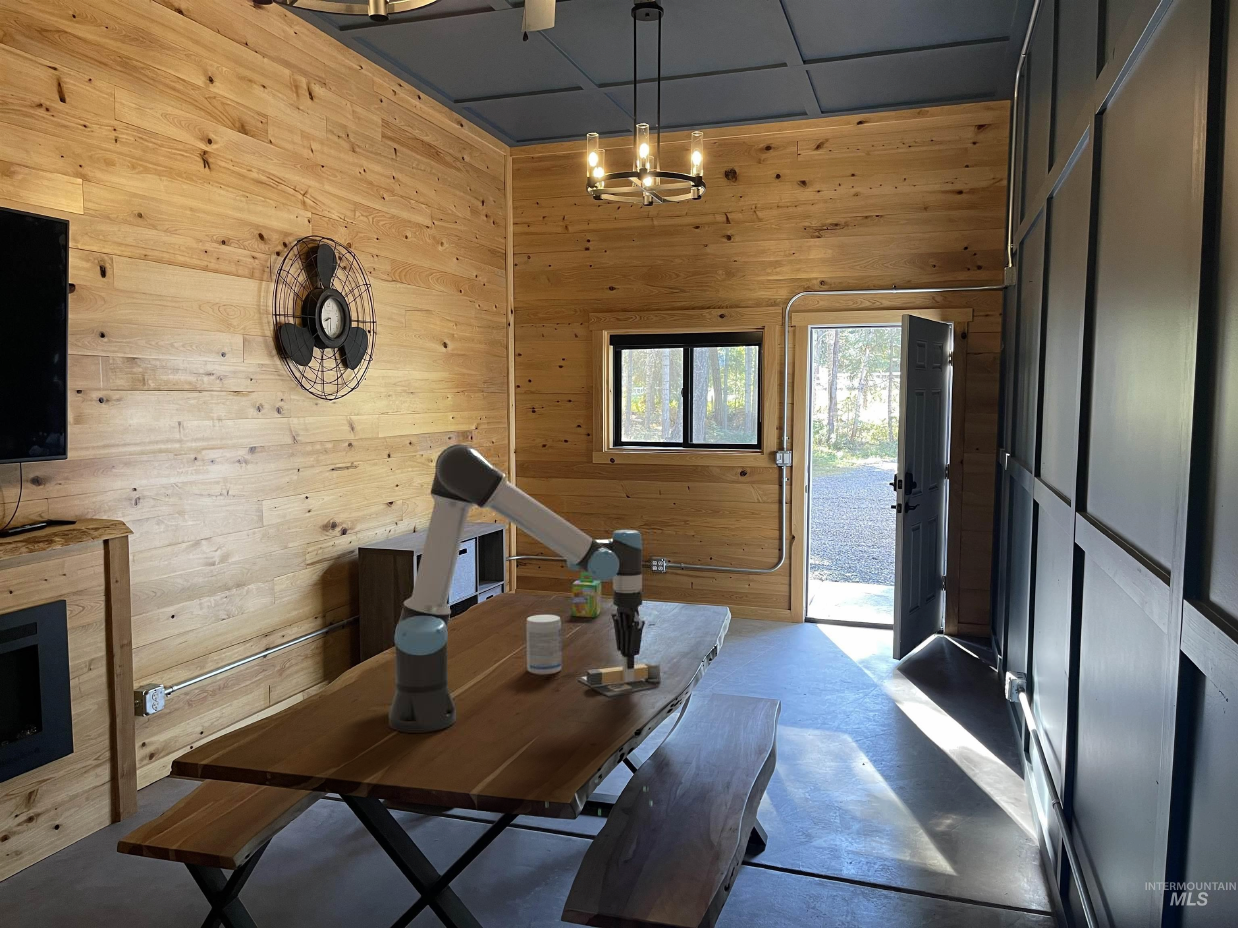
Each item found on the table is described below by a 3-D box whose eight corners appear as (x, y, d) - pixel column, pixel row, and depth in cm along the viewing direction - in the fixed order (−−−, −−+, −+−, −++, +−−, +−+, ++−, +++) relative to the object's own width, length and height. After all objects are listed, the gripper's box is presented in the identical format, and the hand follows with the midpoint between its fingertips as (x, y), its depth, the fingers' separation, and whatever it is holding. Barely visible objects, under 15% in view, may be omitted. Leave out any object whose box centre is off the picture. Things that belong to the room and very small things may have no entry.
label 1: (588, 683, 229) (588, 680, 229) (581, 679, 233) (581, 676, 233) (604, 680, 232) (604, 677, 232) (597, 676, 235) (597, 673, 235)
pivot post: (650, 684, 228) (650, 680, 228) (640, 680, 232) (640, 675, 232) (663, 681, 231) (663, 677, 231) (654, 677, 234) (654, 673, 234)
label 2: (614, 692, 222) (614, 689, 222) (606, 688, 225) (606, 685, 225) (631, 689, 224) (631, 686, 224) (623, 685, 228) (623, 682, 228)
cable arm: (591, 686, 223) (591, 673, 222) (586, 681, 226) (586, 669, 226) (662, 677, 230) (662, 665, 230) (656, 672, 234) (656, 661, 234)
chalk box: (571, 616, 304) (570, 574, 303) (576, 610, 313) (576, 570, 312) (596, 617, 303) (596, 575, 302) (601, 611, 312) (601, 570, 311)
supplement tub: (567, 671, 240) (567, 619, 239) (537, 677, 235) (536, 623, 234) (550, 663, 248) (550, 612, 247) (520, 668, 243) (520, 616, 242)
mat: (608, 697, 219) (608, 695, 219) (578, 680, 232) (578, 678, 232) (655, 687, 226) (655, 686, 226) (622, 672, 239) (622, 670, 239)
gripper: (653, 592, 222) (654, 684, 223) (627, 584, 233) (627, 672, 234) (628, 595, 218) (628, 688, 219) (602, 587, 229) (603, 676, 230)
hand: (628, 680), depth 226 cm, fingers closed
